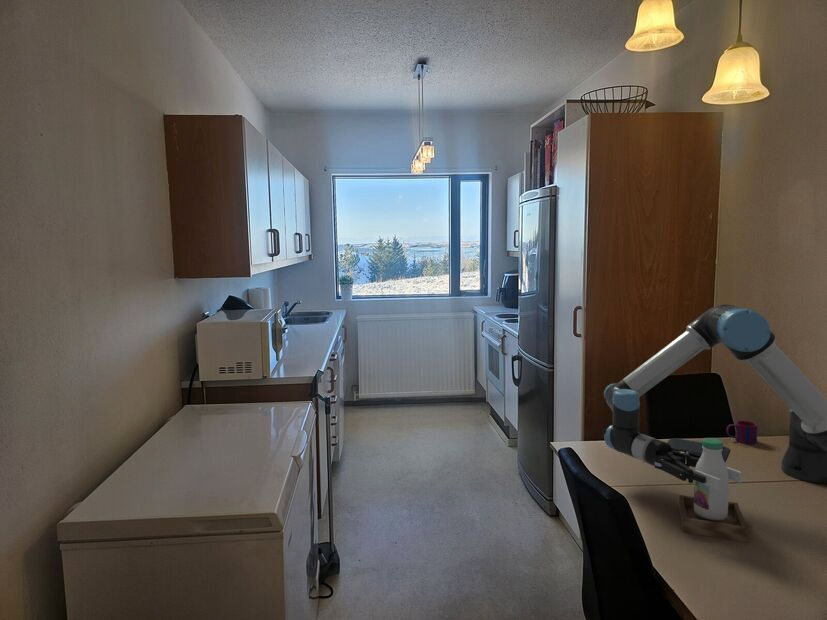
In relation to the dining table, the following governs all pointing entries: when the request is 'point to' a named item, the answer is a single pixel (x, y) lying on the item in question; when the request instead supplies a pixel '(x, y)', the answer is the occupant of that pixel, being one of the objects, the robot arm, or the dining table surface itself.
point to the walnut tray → (723, 529)
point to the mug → (745, 432)
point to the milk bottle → (707, 498)
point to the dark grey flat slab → (692, 447)
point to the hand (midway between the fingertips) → (730, 481)
